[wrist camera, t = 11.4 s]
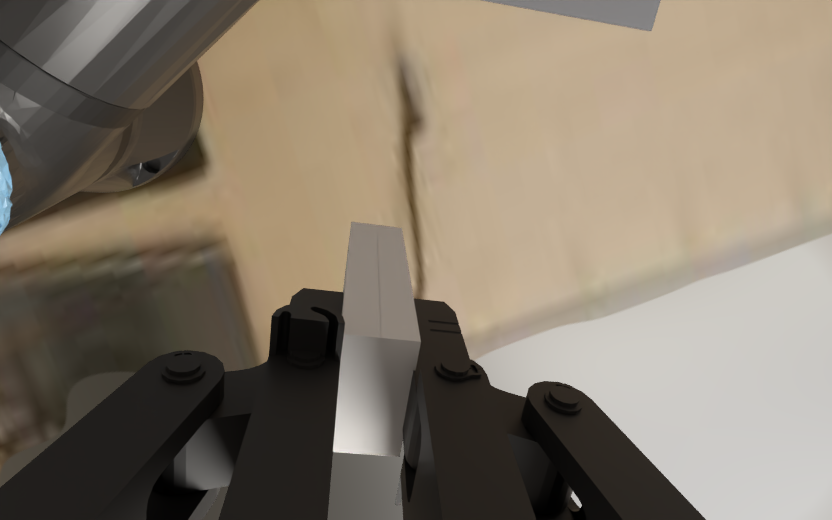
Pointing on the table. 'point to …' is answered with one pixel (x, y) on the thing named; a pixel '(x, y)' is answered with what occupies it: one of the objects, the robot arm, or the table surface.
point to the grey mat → (597, 10)
